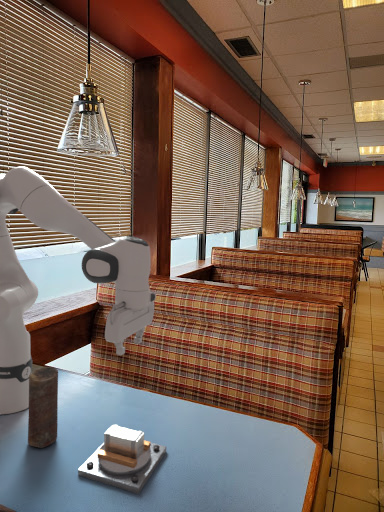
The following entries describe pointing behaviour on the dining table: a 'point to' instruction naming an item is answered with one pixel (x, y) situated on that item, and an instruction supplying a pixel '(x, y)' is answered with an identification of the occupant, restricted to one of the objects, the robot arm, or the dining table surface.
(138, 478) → the turntable fixture plate
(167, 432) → the dining table surface
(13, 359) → the robot arm
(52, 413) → the candle
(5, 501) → the dining table surface
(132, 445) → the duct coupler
